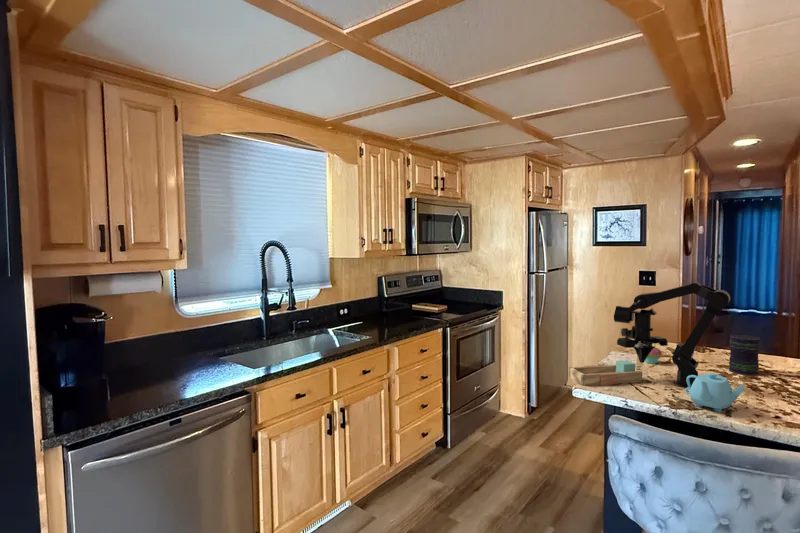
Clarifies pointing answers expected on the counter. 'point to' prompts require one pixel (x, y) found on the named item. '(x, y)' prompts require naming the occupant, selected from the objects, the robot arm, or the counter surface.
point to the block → (625, 366)
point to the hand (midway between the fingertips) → (641, 362)
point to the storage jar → (744, 354)
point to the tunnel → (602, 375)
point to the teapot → (712, 391)
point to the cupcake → (653, 356)
